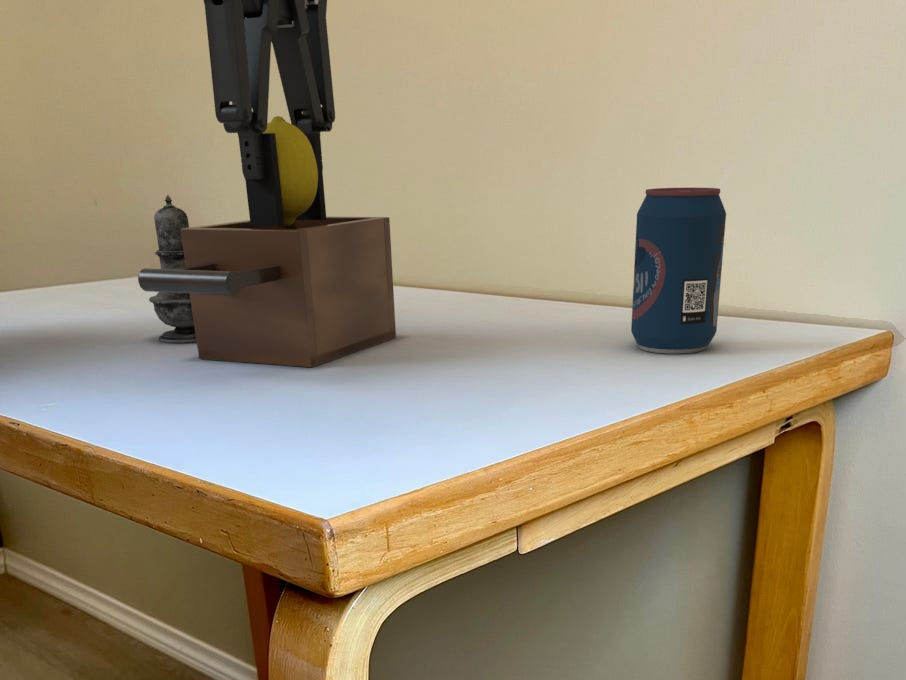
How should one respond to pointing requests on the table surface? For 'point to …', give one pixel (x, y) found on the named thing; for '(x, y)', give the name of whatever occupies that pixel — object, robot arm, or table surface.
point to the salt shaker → (171, 254)
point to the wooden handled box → (285, 289)
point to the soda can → (677, 269)
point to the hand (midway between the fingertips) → (289, 221)
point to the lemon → (294, 168)
